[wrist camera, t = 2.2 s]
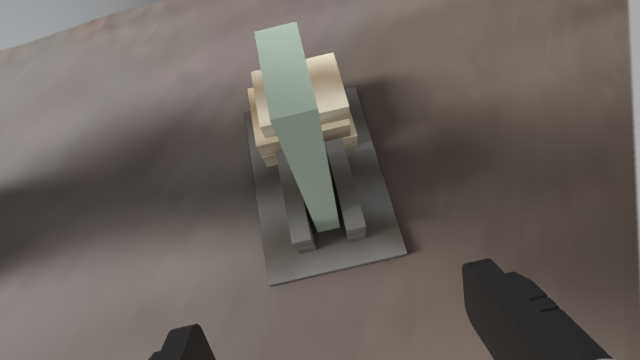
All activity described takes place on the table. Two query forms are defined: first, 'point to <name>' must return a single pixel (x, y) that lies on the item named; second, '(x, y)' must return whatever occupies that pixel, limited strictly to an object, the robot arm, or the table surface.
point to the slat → (297, 119)
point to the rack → (347, 181)
